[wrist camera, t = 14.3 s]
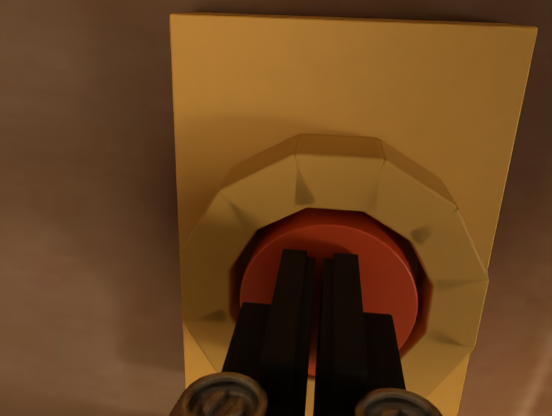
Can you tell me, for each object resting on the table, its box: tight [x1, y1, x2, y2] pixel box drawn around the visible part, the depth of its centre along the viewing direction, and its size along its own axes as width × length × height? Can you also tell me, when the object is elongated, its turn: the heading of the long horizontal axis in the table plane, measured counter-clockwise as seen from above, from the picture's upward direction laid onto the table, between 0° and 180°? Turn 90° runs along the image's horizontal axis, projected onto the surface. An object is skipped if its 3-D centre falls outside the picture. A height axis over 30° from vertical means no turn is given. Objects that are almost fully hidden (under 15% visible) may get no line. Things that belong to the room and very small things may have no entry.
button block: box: [169, 12, 538, 416], centre depth 14 cm, size 8×12×4 cm, turn 178°
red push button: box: [240, 207, 418, 376], centre depth 12 cm, size 4×4×2 cm
